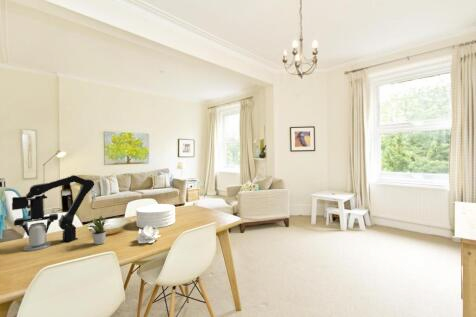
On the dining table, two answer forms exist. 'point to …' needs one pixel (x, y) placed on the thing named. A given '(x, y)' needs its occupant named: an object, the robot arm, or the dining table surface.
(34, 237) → the can
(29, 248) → the coaster
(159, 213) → the plate stack
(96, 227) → the house plant
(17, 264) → the dining table surface
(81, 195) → the robot arm
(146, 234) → the lotus flower
